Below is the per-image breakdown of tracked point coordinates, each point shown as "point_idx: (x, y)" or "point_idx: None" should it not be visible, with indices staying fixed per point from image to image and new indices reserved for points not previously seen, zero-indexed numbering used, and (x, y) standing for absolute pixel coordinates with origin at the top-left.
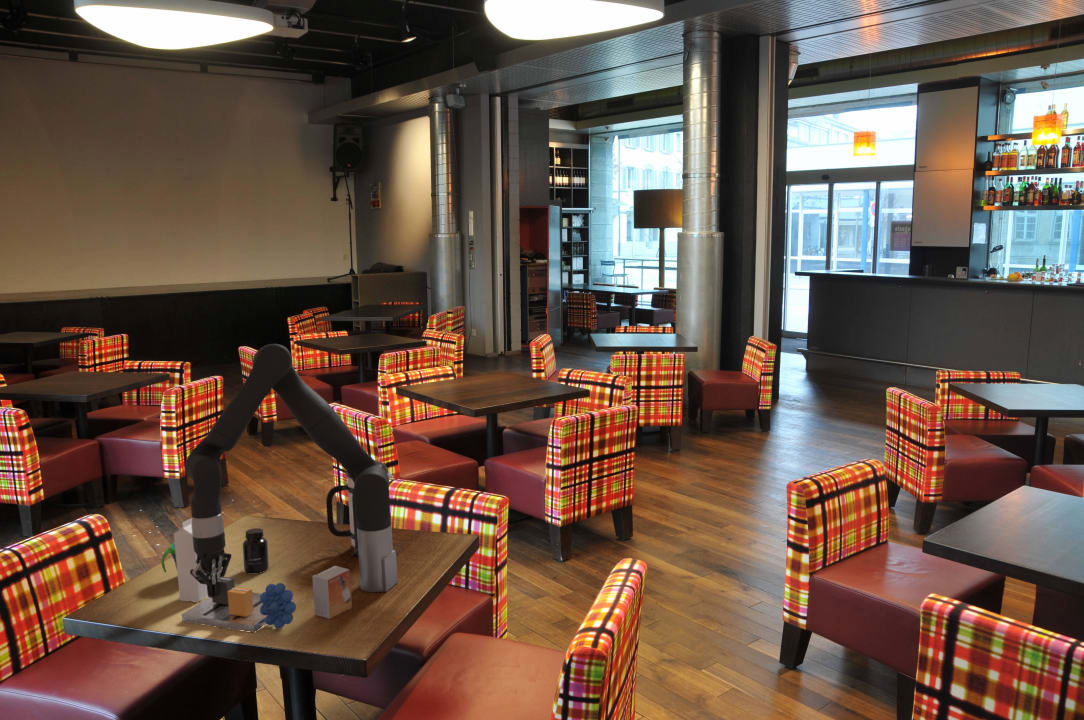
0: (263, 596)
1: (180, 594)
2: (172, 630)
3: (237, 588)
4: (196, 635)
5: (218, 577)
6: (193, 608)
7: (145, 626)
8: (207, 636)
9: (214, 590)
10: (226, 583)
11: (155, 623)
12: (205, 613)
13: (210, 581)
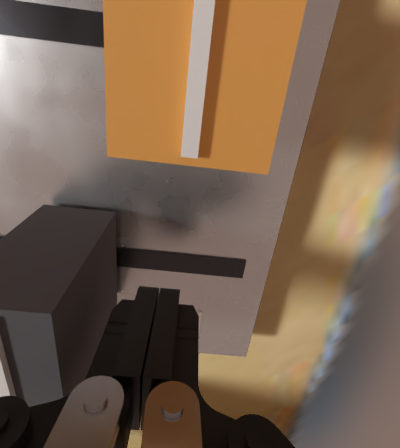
0: None
1: None
2: (315, 322)
3: (153, 88)
4: (367, 211)
5: (92, 426)
6: None
7: (286, 404)
8: (384, 151)
9: (176, 332)
10: (54, 308)
11: (263, 392)
12: (230, 271)
13: (233, 444)
